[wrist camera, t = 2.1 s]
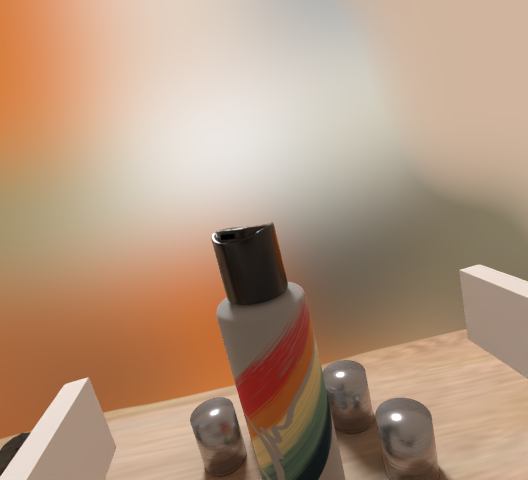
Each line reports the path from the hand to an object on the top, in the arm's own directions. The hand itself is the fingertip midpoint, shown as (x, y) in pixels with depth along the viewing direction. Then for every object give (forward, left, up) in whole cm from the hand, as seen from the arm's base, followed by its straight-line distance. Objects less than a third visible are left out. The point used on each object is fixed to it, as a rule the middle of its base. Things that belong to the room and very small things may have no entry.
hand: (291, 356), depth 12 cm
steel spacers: (-3, +15, -17) cm, 22 cm away
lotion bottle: (-3, +10, -17) cm, 20 cm away
